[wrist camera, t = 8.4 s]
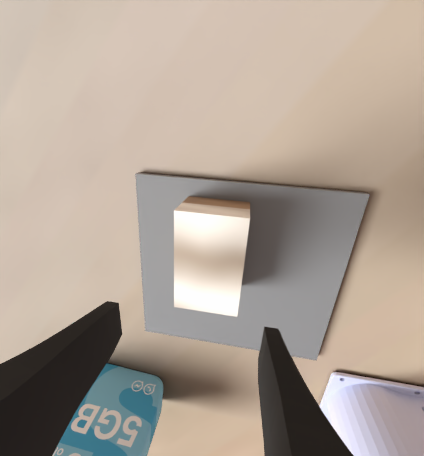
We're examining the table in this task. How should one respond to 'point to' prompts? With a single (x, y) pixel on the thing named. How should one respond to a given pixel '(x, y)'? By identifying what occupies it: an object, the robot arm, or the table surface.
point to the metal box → (210, 254)
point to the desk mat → (254, 260)
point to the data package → (115, 415)
